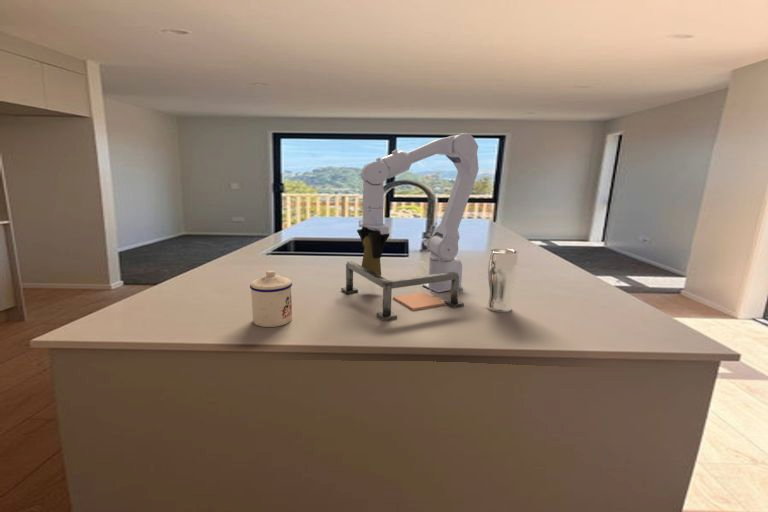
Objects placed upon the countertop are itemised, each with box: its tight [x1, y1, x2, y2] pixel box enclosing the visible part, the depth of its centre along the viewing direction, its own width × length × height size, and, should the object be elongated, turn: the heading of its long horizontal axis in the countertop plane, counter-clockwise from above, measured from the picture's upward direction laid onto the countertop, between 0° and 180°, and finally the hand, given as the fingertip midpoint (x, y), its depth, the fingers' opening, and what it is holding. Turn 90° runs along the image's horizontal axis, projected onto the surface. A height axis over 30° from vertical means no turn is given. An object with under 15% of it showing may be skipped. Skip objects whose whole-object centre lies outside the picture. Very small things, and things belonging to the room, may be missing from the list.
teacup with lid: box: [249, 269, 293, 328], centre depth 90 cm, size 12×9×12 cm
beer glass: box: [486, 248, 519, 313], centre depth 99 cm, size 7×7×15 cm
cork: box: [361, 236, 382, 276], centre depth 111 cm, size 6×6×11 cm
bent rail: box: [340, 260, 465, 322], centre depth 106 cm, size 24×26×9 cm
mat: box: [392, 291, 446, 312], centre depth 104 cm, size 10×10×1 cm
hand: (372, 255), depth 111 cm, fingers closed on cork, 5 cm apart
